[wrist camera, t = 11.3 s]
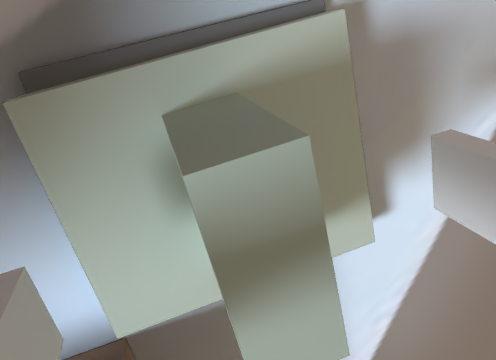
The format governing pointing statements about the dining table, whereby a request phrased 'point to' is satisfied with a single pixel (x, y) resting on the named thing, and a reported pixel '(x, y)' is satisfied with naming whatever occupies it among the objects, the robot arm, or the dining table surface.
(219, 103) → the lid
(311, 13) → the mat
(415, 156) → the dining table surface
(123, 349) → the crate
